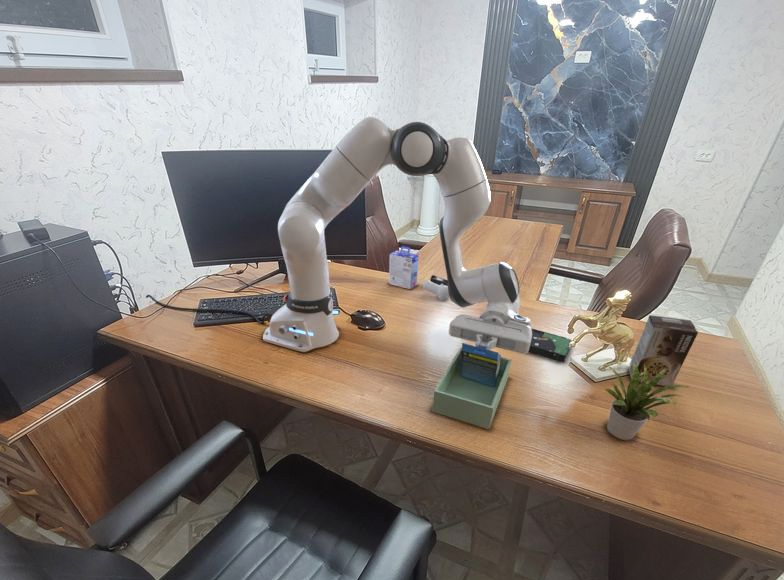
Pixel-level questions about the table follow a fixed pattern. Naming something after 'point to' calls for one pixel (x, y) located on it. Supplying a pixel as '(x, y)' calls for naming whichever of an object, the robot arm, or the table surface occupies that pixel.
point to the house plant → (635, 403)
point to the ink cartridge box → (403, 268)
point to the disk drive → (549, 345)
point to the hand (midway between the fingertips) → (482, 348)
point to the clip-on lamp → (437, 287)
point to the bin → (469, 394)
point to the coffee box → (663, 348)
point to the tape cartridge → (480, 364)
